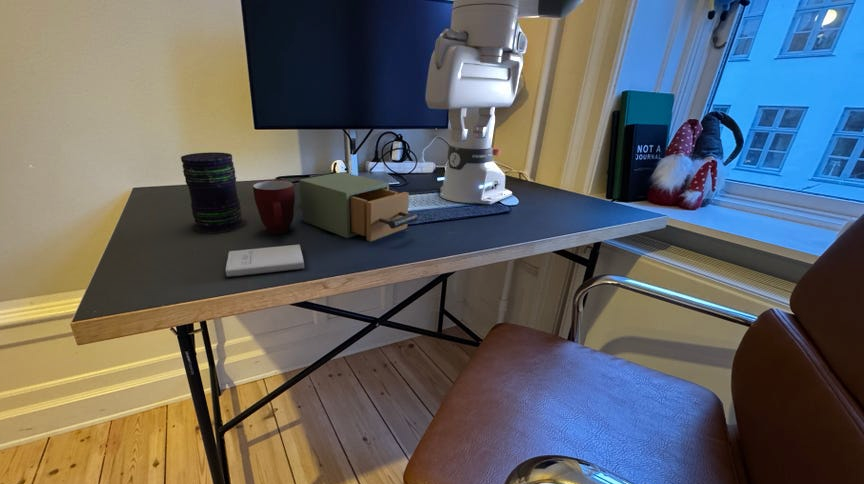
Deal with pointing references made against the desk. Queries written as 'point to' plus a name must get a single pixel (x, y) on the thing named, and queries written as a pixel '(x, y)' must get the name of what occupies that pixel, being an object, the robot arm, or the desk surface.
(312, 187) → the cabinet
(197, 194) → the storage jar
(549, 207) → the desk surface
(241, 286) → the desk surface
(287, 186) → the mug
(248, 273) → the hard drive
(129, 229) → the desk surface
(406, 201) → the drawer
